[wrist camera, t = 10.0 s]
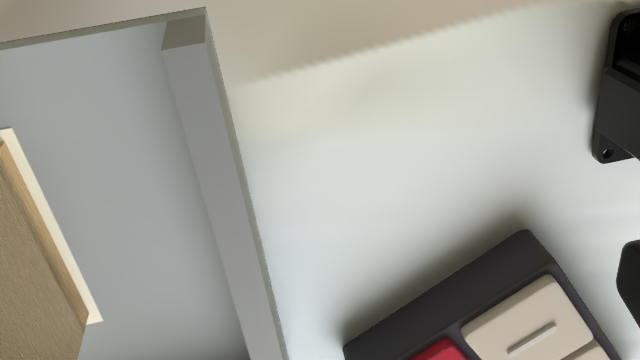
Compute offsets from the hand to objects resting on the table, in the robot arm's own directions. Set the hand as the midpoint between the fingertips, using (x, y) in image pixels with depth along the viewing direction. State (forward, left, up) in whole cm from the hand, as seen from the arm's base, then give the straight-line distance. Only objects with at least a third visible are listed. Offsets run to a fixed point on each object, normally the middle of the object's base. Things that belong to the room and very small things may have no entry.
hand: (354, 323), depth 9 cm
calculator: (-9, +19, -14) cm, 25 cm away
